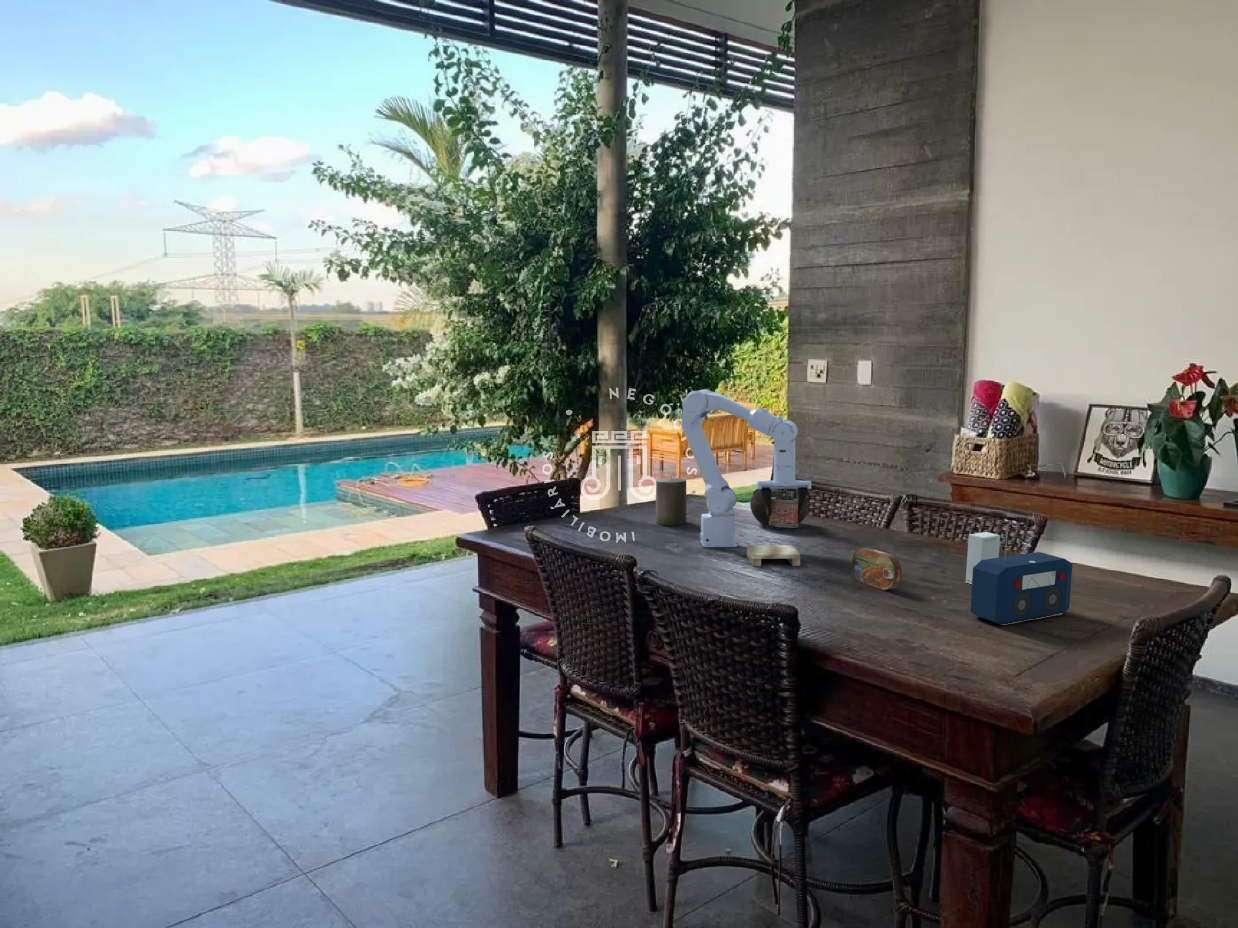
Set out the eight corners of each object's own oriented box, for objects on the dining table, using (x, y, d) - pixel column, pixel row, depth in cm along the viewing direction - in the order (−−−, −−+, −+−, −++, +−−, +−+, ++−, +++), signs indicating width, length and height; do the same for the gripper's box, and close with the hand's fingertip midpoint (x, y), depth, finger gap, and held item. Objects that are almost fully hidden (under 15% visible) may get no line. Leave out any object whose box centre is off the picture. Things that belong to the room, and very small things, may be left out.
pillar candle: (687, 525, 272) (687, 478, 270) (655, 525, 272) (656, 478, 270) (685, 519, 282) (685, 473, 280) (655, 519, 282) (655, 473, 280)
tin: (850, 578, 213) (851, 544, 212) (860, 576, 214) (861, 543, 213) (892, 594, 199) (893, 558, 198) (903, 593, 200) (904, 557, 199)
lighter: (799, 525, 239) (799, 489, 238) (796, 528, 236) (796, 491, 235) (771, 523, 243) (771, 487, 242) (767, 525, 240) (767, 489, 239)
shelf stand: (753, 566, 224) (753, 554, 223) (746, 556, 234) (747, 545, 233) (800, 565, 224) (800, 554, 224) (791, 556, 234) (792, 545, 234)
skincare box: (980, 588, 204) (982, 537, 202) (965, 583, 207) (967, 534, 206) (998, 584, 206) (1000, 534, 205) (983, 580, 210) (985, 531, 208)
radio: (1000, 629, 175) (1005, 531, 172) (966, 617, 183) (971, 523, 180) (1074, 616, 183) (1081, 522, 180) (1039, 604, 191) (1045, 514, 188)
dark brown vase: (765, 517, 284) (767, 431, 280) (817, 524, 274) (820, 434, 270) (739, 527, 270) (740, 436, 266) (793, 534, 259) (795, 440, 255)
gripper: (760, 467, 233) (759, 517, 235) (814, 467, 233) (813, 517, 235) (755, 464, 240) (754, 512, 242) (808, 463, 240) (807, 512, 242)
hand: (783, 514), depth 239 cm, fingers closed on lighter, 7 cm apart
